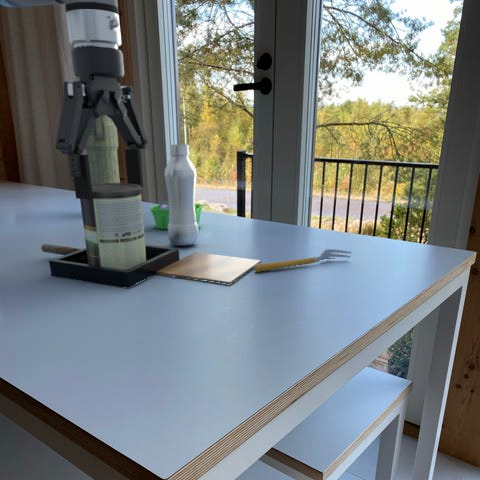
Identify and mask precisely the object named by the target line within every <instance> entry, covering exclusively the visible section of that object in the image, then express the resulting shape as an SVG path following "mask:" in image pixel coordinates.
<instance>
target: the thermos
mask: <svg viewBox="0 0 480 480" xmlns="http://www.w3.org/2000/svg"><path fill="white" fill-rule="evenodd" d="M118 149H119V137H118V130H117V128H116V126H115V125H114V123H113V121H112V119H111V118H109V117H107V115H100V117H99V118H97V119H96V121H95V124H94V126H93V129H92V131H91V134H90V136H89V139H88V141H87V144H86V147H85V149H84V151H85V153H86V154H85V155H88V160H89V168H90V177H91V184H101V183H121V181H120V170H119V159H118Z"/></svg>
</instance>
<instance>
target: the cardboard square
mask: <svg viewBox="0 0 480 480" xmlns="http://www.w3.org/2000/svg"><path fill="white" fill-rule="evenodd" d="M259 263H261V264H262V260H260V259H254V258H253V259H252V258H245V257H239V256H238V257H237V256H229V255H223V254H222V255H221V254H213V253H206V252H197V251H195V252H192V253H190V254H188V255H187V256H184V257H182V258H179V260H178V261H176V262H174V263H172V264H170V265H168V266H166V267H164V268H162V269H160V270H158V271H157V272H156V273H157V274H160V275H159V276H163V275H167V276H166V277H169V276H175V277H174V278H176V277H182V278H181V279H183V278H189V279H197V280H207V281H214V282H220V283H226V284H231V283H233V282H234V281H235V280H237V279H238V278H240V277H241V276H243V275H244V274H245V273H247V272H248V271H250V270H251V269H252V268H254V266H255V265H257V264H259ZM252 270H253V269H252ZM252 270H251V271H252ZM251 271H250V272H251ZM248 273H249V272H248ZM248 273H247V274H248ZM245 275H246V274H245ZM245 275H244V276H245ZM244 276H243V277H244ZM241 278H242V277H241ZM241 278H240V279H241ZM189 279H188V280H189ZM238 280H239V279H238ZM238 280H237V281H238ZM234 283H235V282H234ZM234 283H233V284H234Z"/></svg>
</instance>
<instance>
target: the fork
mask: <svg viewBox="0 0 480 480" xmlns="http://www.w3.org/2000/svg"><path fill="white" fill-rule="evenodd" d="M348 254H350V255H348ZM351 254H353V252H352V251H348V250H343V249H342V250H340V249H334V248H328V249H324V251H322V252H321V253H320V255H319V256H315V257H314V256H313V257H307V258H298V259H289V260H281V261H272V262H265V263H261V264H257V265H255V266H254V269H253V271H254V272H255V271H256V272H255V273H261V272H260V271H264V272H267V271H266V270H270V271H273V270H272V269H275V270H280V269H279V268H281V269H285V268H284V267H287V268H291V267H290V266H293V267H297V266H296V265H299V266H304V265H310V264H316V263H315V262H317V263H320V262H321V261H320V260H324V259H332V258H333V259H335V258H351V257H352V256H351ZM319 261H320V262H319ZM303 264H304V265H303Z"/></svg>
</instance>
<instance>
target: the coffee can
mask: <svg viewBox="0 0 480 480" xmlns="http://www.w3.org/2000/svg"><path fill="white" fill-rule="evenodd" d="M91 185H92V193H93V199H90V200H89V199H79V201H80V208H81V217H82V224H83V225H82V226H83V232H84V242H85V248H86V249H87V257H88V265H95V266H102V267H108V268H115V269H122V270H127V269H130V268H132V267H134V266H136V265H139V264H141V263H143V262H145V261H146V251H145V245H146V241H145V228H144V212H143V211H144V210H143V200H142V191H143V188H142V187H141V186H140V185H137V184H130V183H128V182H120V183H101V184H91Z"/></svg>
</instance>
